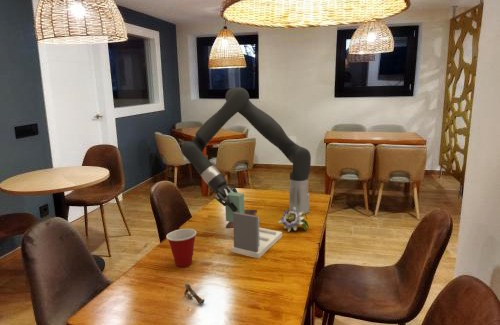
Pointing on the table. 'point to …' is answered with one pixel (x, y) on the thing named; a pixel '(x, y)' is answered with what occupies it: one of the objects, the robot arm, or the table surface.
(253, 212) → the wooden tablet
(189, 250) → the plastic cup
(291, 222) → the passion flower
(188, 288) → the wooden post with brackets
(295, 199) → the robot arm
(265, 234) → the book rack
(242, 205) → the green book
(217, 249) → the table surface
